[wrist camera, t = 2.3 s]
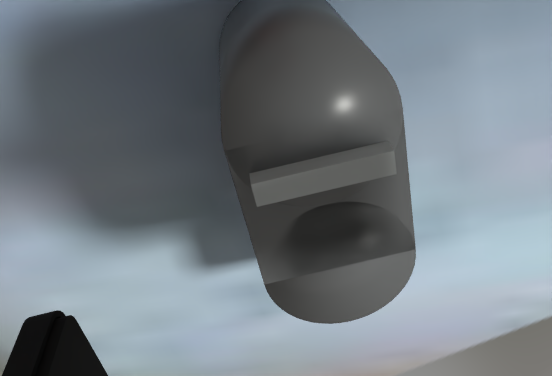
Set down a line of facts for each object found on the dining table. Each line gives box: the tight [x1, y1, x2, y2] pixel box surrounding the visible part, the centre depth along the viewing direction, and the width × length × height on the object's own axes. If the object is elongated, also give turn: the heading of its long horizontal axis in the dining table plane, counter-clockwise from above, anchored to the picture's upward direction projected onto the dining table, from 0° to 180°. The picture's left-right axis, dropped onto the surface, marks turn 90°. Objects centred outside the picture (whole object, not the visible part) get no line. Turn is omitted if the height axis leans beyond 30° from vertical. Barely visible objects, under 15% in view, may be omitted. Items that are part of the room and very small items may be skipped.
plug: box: [219, 0, 416, 324], centre depth 15 cm, size 10×4×6 cm, turn 12°
